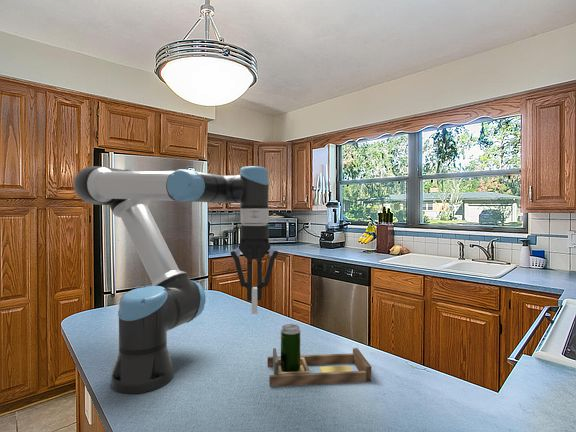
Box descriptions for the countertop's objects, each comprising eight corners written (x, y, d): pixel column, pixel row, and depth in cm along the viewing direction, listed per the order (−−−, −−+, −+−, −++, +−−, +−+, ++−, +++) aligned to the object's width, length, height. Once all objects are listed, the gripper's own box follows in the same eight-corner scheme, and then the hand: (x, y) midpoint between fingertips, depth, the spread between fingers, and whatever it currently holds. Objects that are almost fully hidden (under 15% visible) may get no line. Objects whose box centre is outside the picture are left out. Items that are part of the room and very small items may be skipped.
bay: (269, 386, 87) (269, 370, 87) (267, 365, 99) (267, 351, 99) (371, 381, 90) (371, 366, 90) (357, 361, 102) (357, 348, 102)
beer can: (287, 377, 90) (288, 332, 90) (276, 369, 95) (277, 326, 94) (304, 372, 93) (304, 328, 93) (292, 364, 98) (293, 322, 97)
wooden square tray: (275, 382, 89) (275, 362, 89) (272, 366, 98) (273, 348, 98) (309, 380, 90) (309, 360, 90) (304, 365, 99) (304, 347, 99)
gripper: (229, 225, 87) (229, 317, 88) (279, 225, 89) (279, 315, 89) (230, 224, 95) (230, 308, 95) (277, 224, 96) (277, 307, 97)
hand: (254, 312), depth 92 cm, fingers closed
